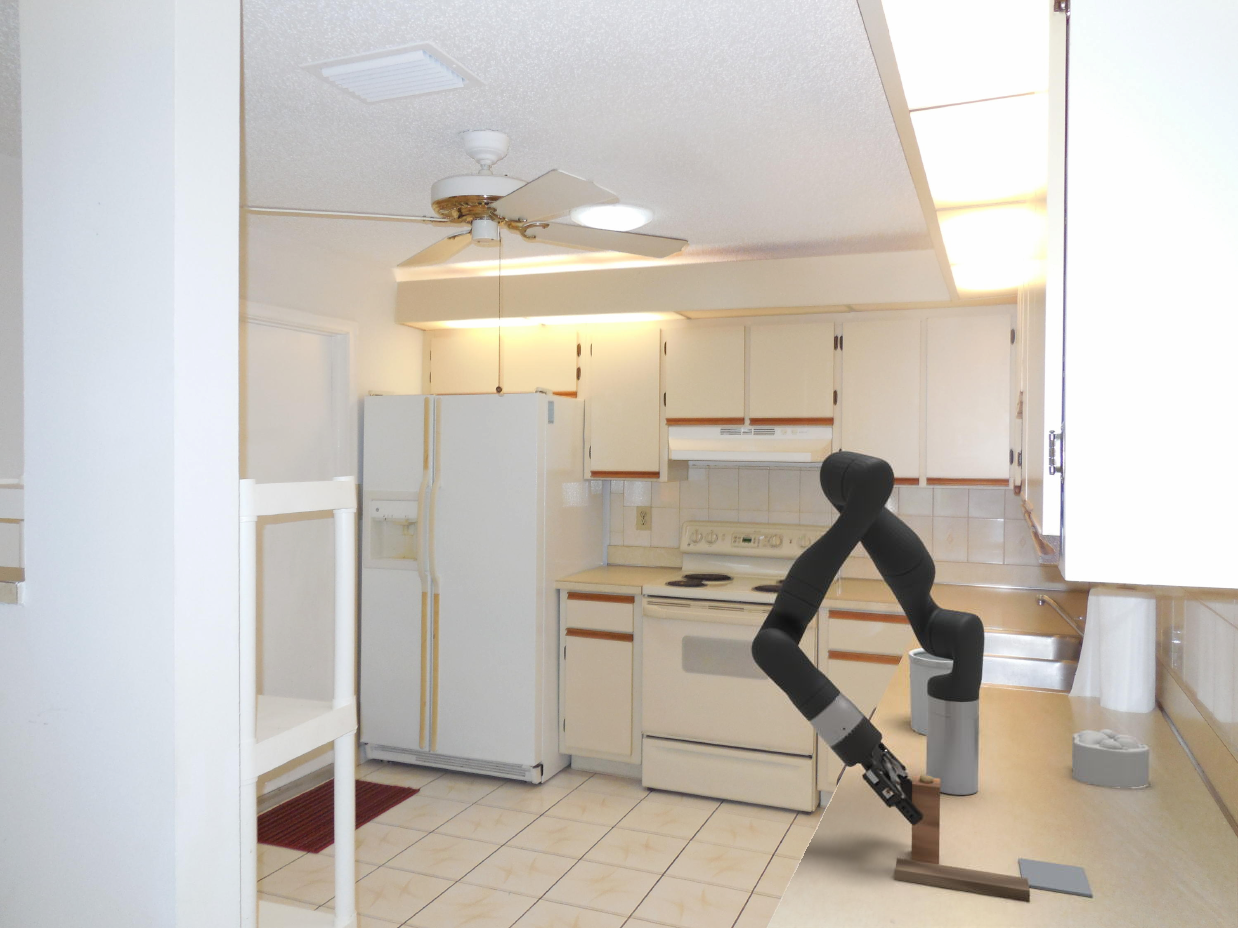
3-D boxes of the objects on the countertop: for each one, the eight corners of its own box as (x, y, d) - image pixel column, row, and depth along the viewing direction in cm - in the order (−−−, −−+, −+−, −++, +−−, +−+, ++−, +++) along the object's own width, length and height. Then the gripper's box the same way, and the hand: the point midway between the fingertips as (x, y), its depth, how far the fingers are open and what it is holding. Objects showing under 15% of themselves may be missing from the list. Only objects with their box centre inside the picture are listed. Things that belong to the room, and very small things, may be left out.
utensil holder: (907, 736, 200) (908, 657, 200) (907, 718, 214) (908, 644, 214) (978, 743, 195) (979, 663, 195) (974, 724, 210) (975, 649, 209)
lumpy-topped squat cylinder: (1071, 765, 182) (1072, 723, 182) (1145, 775, 176) (1146, 731, 176) (1073, 782, 172) (1074, 737, 172) (1151, 793, 167) (1152, 747, 167)
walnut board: (896, 867, 135) (896, 857, 135) (1027, 888, 129) (1027, 877, 129) (895, 879, 132) (895, 868, 132) (1029, 901, 125) (1029, 890, 125)
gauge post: (912, 850, 141) (913, 771, 141) (939, 854, 140) (940, 774, 140) (911, 861, 138) (912, 779, 137) (939, 865, 136) (940, 783, 136)
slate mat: (1018, 860, 138) (1018, 857, 138) (1083, 869, 135) (1083, 867, 135) (1023, 886, 130) (1023, 883, 130) (1092, 897, 127) (1092, 894, 127)
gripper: (858, 726, 135) (937, 813, 131) (866, 702, 149) (938, 780, 145) (821, 757, 137) (899, 843, 133) (833, 730, 151) (903, 808, 147)
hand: (919, 810), depth 139 cm, fingers open, 8 cm apart
